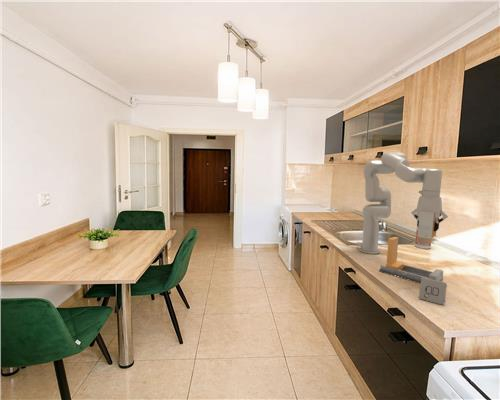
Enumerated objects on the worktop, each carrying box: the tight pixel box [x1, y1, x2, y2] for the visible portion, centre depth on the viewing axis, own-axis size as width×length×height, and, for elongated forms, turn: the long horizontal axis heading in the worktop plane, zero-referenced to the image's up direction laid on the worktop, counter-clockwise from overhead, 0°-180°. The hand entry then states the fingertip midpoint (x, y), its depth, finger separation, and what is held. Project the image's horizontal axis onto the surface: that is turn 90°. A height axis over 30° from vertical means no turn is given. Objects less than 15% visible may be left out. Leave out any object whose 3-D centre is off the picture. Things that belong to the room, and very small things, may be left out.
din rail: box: [379, 264, 444, 284], centre depth 148 cm, size 26×14×5 cm, turn 42°
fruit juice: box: [414, 226, 432, 250], centre depth 197 cm, size 9×9×28 cm
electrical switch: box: [418, 278, 448, 306], centre depth 122 cm, size 9×5×9 cm, turn 52°
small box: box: [418, 211, 437, 240], centre depth 141 cm, size 8×6×13 cm
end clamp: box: [385, 236, 405, 270], centre depth 153 cm, size 6×9×17 cm, turn 132°
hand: (427, 229), depth 141 cm, fingers closed on small box, 6 cm apart
